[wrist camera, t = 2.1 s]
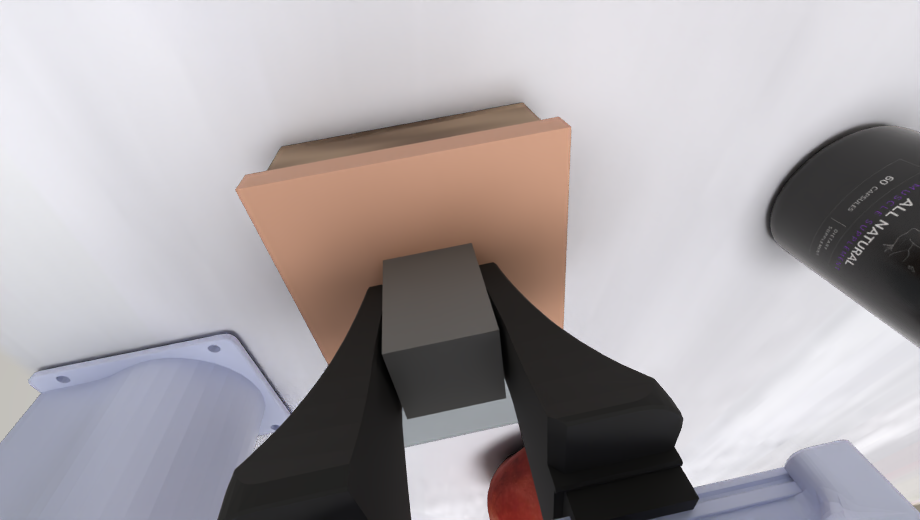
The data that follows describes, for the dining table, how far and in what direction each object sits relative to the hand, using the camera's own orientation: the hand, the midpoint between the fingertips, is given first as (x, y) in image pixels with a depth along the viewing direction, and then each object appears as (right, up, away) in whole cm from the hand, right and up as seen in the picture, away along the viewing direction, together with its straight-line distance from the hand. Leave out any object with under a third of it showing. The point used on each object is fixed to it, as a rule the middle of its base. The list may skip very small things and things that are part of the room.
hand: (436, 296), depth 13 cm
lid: (0, +1, +1) cm, 2 cm away
